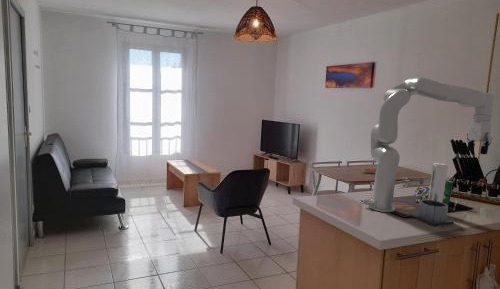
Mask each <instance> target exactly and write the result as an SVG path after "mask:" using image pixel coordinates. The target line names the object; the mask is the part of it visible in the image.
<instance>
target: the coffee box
mask: <svg viewBox="0 0 500 289" xmlns="http://www.w3.org/2000/svg"><path fill="white" fill-rule="evenodd" d="M453 184H454V181H451V180H446V182H445V189H444V197H443V203H445V204H447V205H448V206H449V205H450V202H451V196H452V191H453Z"/></svg>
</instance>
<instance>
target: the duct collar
mask: <svg viewBox="0 0 500 289" xmlns="http://www.w3.org/2000/svg"><path fill="white" fill-rule="evenodd" d="M417 208H418V209H417V213H411V214H409V217H411V218H413V219H416V220H417V221H421V222H423V223H425V224H427V225H430V226H432V227H438V226H444V225H453V224H455V221H453V220H451V219H449V218H448V213H449V212H448V211H449V205H447V204H445V203H442V202H439V201H434V200H427V199H422V200H420V201H419V202H418V207H417ZM447 218H448V219H447Z"/></svg>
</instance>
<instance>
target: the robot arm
mask: <svg viewBox="0 0 500 289" xmlns="http://www.w3.org/2000/svg"><path fill="white" fill-rule="evenodd" d="M413 95H415V96H416V95H417V96H421V97H424V98H425V97H426V98H429V99H431V100H432V99H433V100H437V101H441V102H448V103H457V104H458V105H459V106H461V107H463V108H464V107H465V108H473V116H472V120H471V123H470V124H469V130H468V132H467V134H466V139H467V149H466V151H468V152H474V151H475V145H476V143H475V142H480V143H481V147H480V152H479V154H481V155H488V150H489V147H490V145H491V144H492V142H493V140H494V137H493V136H491V130H492V115H493V114H492V113H493V111H494V110H493V108H494V103H495V94H494V93H492V92H483V91H481V90H478V89H477V90H476V89H473V88H468V87H464V86H460V85H455V84H450V83H445V82H442V81H437V80H434V79H430V78H427V77H423V76H422V77H421V76H418V77H417V76H416V77H410V78H408V79H406V80H404V81H402V82H401V83H399V84H397V85H394V86H393V87H391V88H389V89H387V90H386V91H385V93H384V94H383V100H384V102H383V103H382V105H381V107H380V110H379V116H378V123H377V124H375V125H374V126H373V127H372V129H371V131H370V132H371V133H370V155H371V158H372V159H373V160H374V161H375V162H377V163H378V164H377V167H376V169H375V174H374V176H375V177H374V185H373V193H372V197H370V199H363V200H362V204H366V205H368V207H369V209H371V210H373V211H377V212H381V213H394V212H395V211H396V207H395V206H393V202H394V196H395V188H396V187H395V186H396V178H397V172H398V171H397V170H398V167H399V164H400V161H401V160H400V159H401V158H400V157H401V156H400V153H399V151H398V150H397V149H396V148H394V147H392V146H390V145H391V144H394V143H395V142H396V141H397V139H398V135H399V134H398V126H399V125H398V124H399V123H398V120H399V113H400V112H401V110H402V108H404V106H406V105H408V104H409V102H410V101H411V96H413Z"/></svg>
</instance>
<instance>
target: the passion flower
mask: <svg viewBox="0 0 500 289" xmlns="http://www.w3.org/2000/svg"><path fill="white" fill-rule="evenodd" d="M429 190H430V185H428V186H418V187H417V188H416V189H415V191H414V193H413V195H414V198H415V203H419V201H420V200H423V199H425V200H428V198H429Z"/></svg>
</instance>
